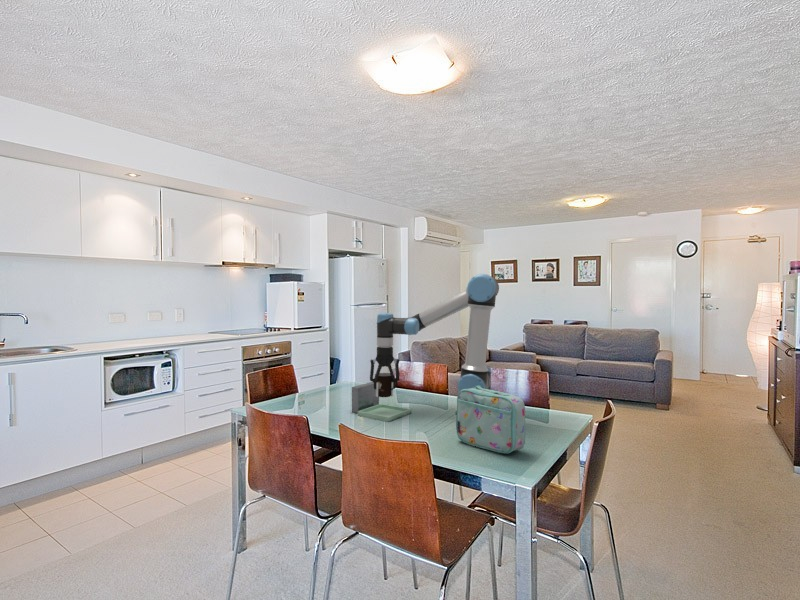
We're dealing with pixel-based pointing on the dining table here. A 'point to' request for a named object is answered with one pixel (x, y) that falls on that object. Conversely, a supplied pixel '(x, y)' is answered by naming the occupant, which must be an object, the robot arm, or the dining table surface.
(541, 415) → the dining table surface
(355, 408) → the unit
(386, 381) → the coffee mug
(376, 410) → the tray
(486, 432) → the lunch box
